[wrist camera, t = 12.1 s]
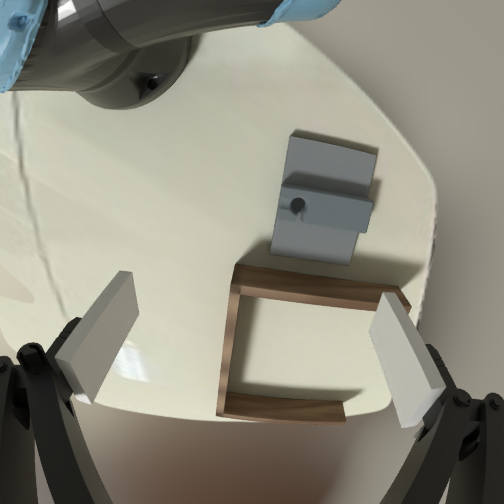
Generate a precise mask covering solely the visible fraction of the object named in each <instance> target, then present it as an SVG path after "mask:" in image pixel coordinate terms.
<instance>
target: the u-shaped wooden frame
mask: <svg viewBox="0 0 504 504" xmlns="http://www.w3.org/2000/svg"><path fill="white" fill-rule="evenodd" d="M383 292H391V293H396V295H397V297H398V298H399V300H400V302H401V303H402V305H403V307H404V308H405V310H406V312H407V314H409V312H410V310H411V307H412V306H411V305H410V303H409V302H408V300H407V299H406V297H405V296H404V294H403V293H402V291H401V290H400V288H399V287H396V286H388V285H381V284H373V283H366V282H358V281H351V280H344V279H336V278H329V277H322V276H315V275H308V274H301V273H294V272H287V271H280V270H273V269H266V268H260V267H253V266H246V265H240V264H235V267H234V271H233V276H232V280H231V285H230V294H229V302H228V310H227V319H226V327H225V336H224V344H223V353H222V362H221V371H220V380H219V390H218V399H217V409H216V416H219V417H225V418H232V419H240V420H248V421H257V422H268V423H281V424H299V425H344V424H345V423H346V418H345V412H344V407H343V402H342V401H319V400H299V399H285V398H273V397H263V396H254V395H246V394H238V393H231V392H227V384H228V377H229V370H230V363H231V356H232V349H233V342H234V335H235V328H236V321H237V314H238V307H239V300H240V295H247V296H253V297H260V298H267V299H275V300H282V301H289V302H297V303H305V304H313V305H321V306H330V307H339V308H348V309H357V310H367V311H376V310H377V308H378V305H379V302H380V299H381V296H382V293H383Z"/></svg>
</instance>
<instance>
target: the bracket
mask: <svg viewBox="0 0 504 504" xmlns="http://www.w3.org/2000/svg"><path fill="white" fill-rule="evenodd" d="M298 197H299V198H302V199H304V201H305V206H304V207H303V209H302V212H300V214H301V218H300V220H301V221H302V223H304V224H308V225H314V226H321V227H327V228H334V229H340V230H346V231H353V232H359V233H366V232H367V228H368V224H369V220H370V216H371V212H372V208H373V204H374V203H373V201H372V200H371V199H369V198H367V197H362V196H357V195H352V194H347V193H342V192H336V191H331V190H325V189H319V188H313V187H307V186H301V185H295V184H288V183H282V184H281V191H280V198H279V204H278V210H277V219H278V220H280V221H287V222H294V223H295V222H296V218H297V213H298V211H296V210H295V209H293V208H292V206H291V202H292V200H293V199H295V198H298Z"/></svg>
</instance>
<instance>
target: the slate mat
mask: <svg viewBox="0 0 504 504" xmlns="http://www.w3.org/2000/svg"><path fill="white" fill-rule="evenodd" d="M375 160H376V155H374V154H370V153H366V152H362V151H358V150H354V149H350V148H346V147H342V146H337V145H333V144H328V143H324V142H319V141H314V140H309V139H304V138H299V137H293V136H290V138H289V144H288V150H287V156H286V162H285V168H284V174H283V180H282V183H288V184H295V185H301V186H307V187H313V188H319V189H325V190H331V191H336V192H342V193H347V194H352V195H357V196H362V197H367V196H368V192H369V187H370V183H371V179H372V174H373V170H374V165H375ZM279 198H280V197H279ZM278 204H279V203H278ZM291 206H292V208H293V209H295V210H296V211H298V213H297V218H296V222H295V223H294V222H287V221H280V220H278V219H277V214H276V220H275V225H274V231H273V236H272V242H271V247H270V254H273V255H279V256H286V257H293V258H299V259H306V260H313V261H319V262H326V263H333V264H339V265H346V266H348V265H349V262H350V259H351V255H352V252H353V249H354V245H355V242H356V238H357V235H358V232H353V231H346V230H340V229H334V228H327V227H321V226H314V225H308V224H304V223H302V221H301V220H300V218H301V214H300V212H302V209H303V207H304V206H305V201H304V199H302V198H299V197H298V198H295V199H293V200H292V202H291ZM277 210H278V208H277Z"/></svg>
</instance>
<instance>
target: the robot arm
mask: <svg viewBox="0 0 504 504" xmlns="http://www.w3.org/2000/svg"><path fill="white" fill-rule="evenodd" d="M340 1H341V0H0V93H4V92H6V91H25V90H50V91H75V92H76V93H78V94H79V95H80V96H82V97H83V98H84V99H86V100H87V101H88V102H90V103H91V104H93V105H95V106H98V107H101V108H105V109H114V110H126V109H133V108H137V107H140V106H143V105H145V104H147V103H149V102H151V101H153V100H155V99H156V98H158V97H159V96H160V95H162V94H163V93H164V92H165V91H166V90H168V89H169V88H170V87H171V85H172V84H173V83H174V82H175V81H176V80H177V78H178V77H179V75H180V74H181V72H182V70H183V69H184V67H185V64H186V62H187V60H188V56H189V53H190V48H191V35H196V34H201V33H206V32H211V31H217V30H223V29H230V28H237V27H245V26H254V25H256V26H257V27H267V26H270V25H272V24H273V23H280V22H291V21H308V20H314V19H317V18H320V17H322V16H324V15H325V14H327V13H328V12H329V11H331V10H333V9H334V8H335V7H336V6H337V5H338V4H339V2H340ZM138 315H139V310H138V304H137V299H136V293H135V287H134V280H133V274H132V272H127V271H119V272H118V273H117V275H116V276H115V277H114V278H113V279H112V281H111V282H110V283H109V284H108V286H107V287H106V288H105V289H104V291H103V292H102V293H101V294H100V296H99V297H98V298H97V299H96V301H95V302H94V303H93V305H92V306H91V307H90V309H89V310H88V311H87V313H86V314H85V315H84V316H83V318H79V317H76V318H74V319H73V320H71V321H70V322H69V323H68V324H67V325H66V326H65V328H64V329H63V332H61V333H60V334H59V337H57V338H56V340H55V341H54V342H53V344H52V345H51V346H50V348H49V349H48V351H47V352H46V353H45V352H44V350H43V348H42V346H41V345H40V344H38V343H34V342H33V343H28V344H26V345H24V346H22V347H21V348H20V349H19V351H18V352H17V359H18V361H19V363H20V365H14V364H13V362H12V361H11V359H10V358H9V357H8V356H0V504H38V497H37V488H36V475H35V448H34V447H35V445H34V444H35V441H36V445H37V449H38V453H39V457H40V460H41V464H42V467H43V471H44V474H45V477H46V480H47V484H48V486H49V489H50V492H51V495H52V497H53V500H54V503H55V504H113V503H112V501H111V499H110V497H109V495H108V493H107V491H106V489H105V487H104V485H103V483H102V481H101V478H100V476H99V474H98V472H97V470H96V467H95V465H94V463H93V460H92V458H91V455H90V453H89V450H88V448H87V445H86V442H85V440H84V437H83V434H82V432H81V429H80V426H79V423H78V420H77V417H76V413H75V410H74V407H73V404H72V401H71V399H70V397H71V395H72V393H74V395H75V396H76V398H77V400H79V401H82V402H85V403H88V404H91V405H92V403H93V401H94V399H95V397H96V395H97V393H98V391H99V389H100V387H101V385H102V383H103V381H104V379H105V377H106V375H107V373H108V371H109V369H110V367H111V365H112V363H113V361H114V359H115V358H116V356H117V354H118V352H119V350H120V348H121V346H122V344H123V342H124V341H125V339H126V337H127V335H128V333H129V331H130V330H131V328H132V326H133V324H134V322H135V321H136V319H137V317H138ZM369 334H370V337H371V340H372V342H373V345H374V348H375V350H376V353H377V356H378V358H379V361H380V364H381V367H382V369H383V372H384V375H385V378H386V381H387V384H388V387H389V390H390V393H391V396H392V399H393V402H394V405H395V408H396V411H397V414H398V417H399V421H400V424H401V427H402V428H405V427H411V426H416V425H417V424H418V423H419V421H420V420H421V419H422V418H423V421H424V425H423V426H422V427H421V429H420V430H419V431H418V432H417V433H416V434H415V435H414V438H416V437H417V438H416V440H415V443H414V445H413V447H412V449H411V451H410V453H409V455H408V457H407V458H406V460H405V462H404V464H403V466H402V468H401V469H400V471H399V473H398V475H397V476H396V478H395V480H394V482H393V483H392V485H391V487H390V488H389V490H388V491H387V493H386V495H385V496H384V498H383V499H382V501H381V502H380V504H439V502H440V500H441V497H442V495H443V493H444V491H445V488H446V486H447V484H448V481H449V479H450V483H449V489H448V494H447V499H446V503H445V504H504V400H503V398H502V397H501V396H500V395H499V394H496V393H490V394H488V395H487V396H486V397H485V398H484V400H478V399H472V398H471V396H470V395H469V394H468V393H467V392H466V391H464V390H462V389H457V388H456V385H455V383H454V381H453V380H452V377H451V375H450V374H449V372H448V370H447V368H446V367H445V364H444V362H443V361H442V360H441V359H442V358H441V357H440V355H439V353H438V351H437V350H436V349H435V348H434V347H433V346H432V345H431V344H424V342H423V341H422V338H421V337H420V335H419V333H418V331H417V329H416V328H415V326H414V324H413V322H412V320H411V319H410V317H409V315H408V314H407V312H406V310H405V308H404V307H403V305H402V303H401V302H400V300H399V298H398V297H397V295H396V293H391V292H383V293H382V296H381V299H380V302H379V305H378V308H377V310H376V313H375V316H374V319H373V321H372V324H371V327H370V329H369ZM417 435H418V436H417ZM34 440H35V441H34ZM450 476H451V477H450Z"/></svg>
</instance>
